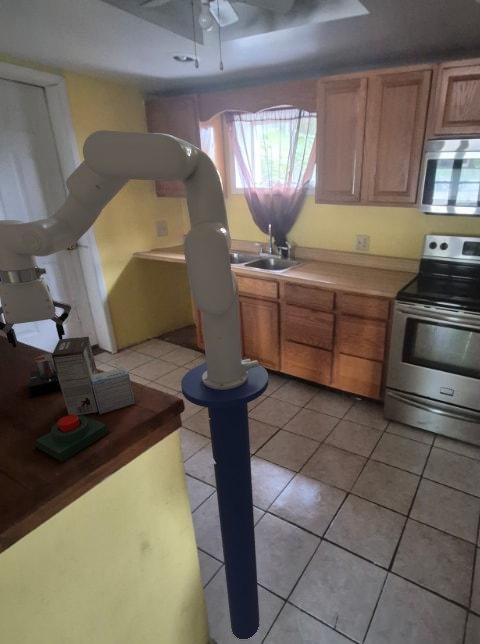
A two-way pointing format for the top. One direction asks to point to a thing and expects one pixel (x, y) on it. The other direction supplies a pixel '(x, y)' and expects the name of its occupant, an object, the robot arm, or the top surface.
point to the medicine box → (112, 390)
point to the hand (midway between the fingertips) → (38, 341)
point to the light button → (68, 423)
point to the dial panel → (43, 384)
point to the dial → (46, 366)
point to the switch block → (71, 438)
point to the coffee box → (76, 374)
